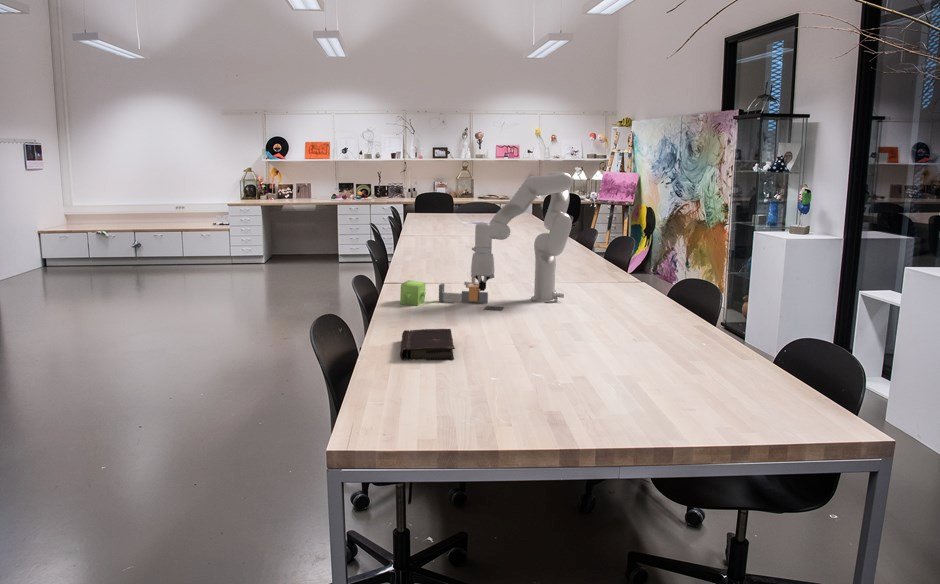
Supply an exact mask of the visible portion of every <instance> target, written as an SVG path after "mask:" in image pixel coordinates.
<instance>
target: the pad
mask: <svg viewBox="0 0 940 584" xmlns="http://www.w3.org/2000/svg"><path fill="white" fill-rule="evenodd" d="M504 308H505V306H493V305H486V306H485V307H484V308H483V309H482V310H483V311H494V312H495V311H499V312H502V311H503V309H504Z"/></svg>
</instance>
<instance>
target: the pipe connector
mask: <svg viewBox="0 0 940 584" xmlns="http://www.w3.org/2000/svg"><path fill="white" fill-rule="evenodd" d="M463 285H464V286H465V288H467V289H469V287H470V286H471V285H477V286H479V282H478V281H476V278H473V277H471V282H470V281H464V282H463Z"/></svg>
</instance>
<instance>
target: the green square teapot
mask: <svg viewBox="0 0 940 584" xmlns="http://www.w3.org/2000/svg"><path fill="white" fill-rule="evenodd" d="M426 295H427V294H426V282H424V281H418V280H410V279H409V280H406V281H404V282H403V283H401V284H400V300H399V304H400V305H404V306H405V305H407V306H419V305H421V304H422V303H424V302H425V300H426Z"/></svg>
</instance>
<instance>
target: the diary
mask: <svg viewBox="0 0 940 584" xmlns="http://www.w3.org/2000/svg"><path fill="white" fill-rule="evenodd" d="M453 340H454V339H453V335H452V328H424V329H412V330H411V329H410V330H409V329H407V330H403V332H402V334H401V342H400V343H401V345H400V351H399V352H400V353H399V355H400V359H401V361H404V357H406V359H407V361H410V359H411V360H415V361H419V360H425V361H452V360H455V358H454V357H455V356H454V351H453V350H456V347H455V346H454V341H453ZM404 355H405V356H404Z"/></svg>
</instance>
